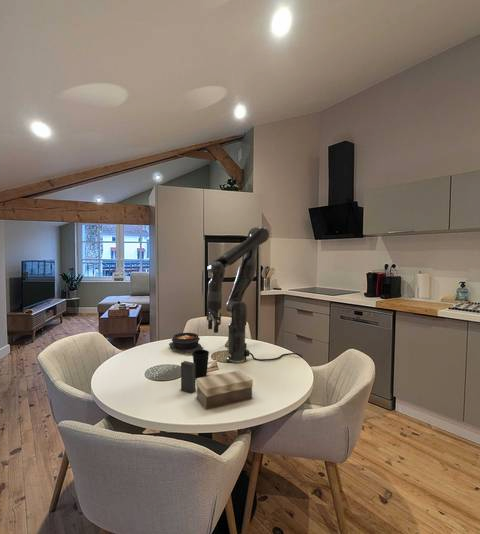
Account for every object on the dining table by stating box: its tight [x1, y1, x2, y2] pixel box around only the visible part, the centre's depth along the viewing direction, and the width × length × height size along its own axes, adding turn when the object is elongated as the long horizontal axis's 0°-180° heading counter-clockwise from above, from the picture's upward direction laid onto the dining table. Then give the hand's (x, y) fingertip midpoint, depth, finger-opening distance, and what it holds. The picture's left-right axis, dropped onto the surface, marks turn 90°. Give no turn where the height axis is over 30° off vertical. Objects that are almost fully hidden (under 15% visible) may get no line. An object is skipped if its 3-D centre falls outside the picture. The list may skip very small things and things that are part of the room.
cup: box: [192, 349, 210, 380], centre depth 147 cm, size 8×8×12 cm
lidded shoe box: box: [196, 369, 254, 410], centre depth 126 cm, size 20×11×8 cm, turn 116°
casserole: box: [168, 332, 204, 354], centre depth 189 cm, size 25×19×8 cm
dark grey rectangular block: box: [180, 360, 196, 394], centre depth 133 cm, size 3×6×12 cm, turn 60°
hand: (212, 330), depth 163 cm, fingers open, 8 cm apart
